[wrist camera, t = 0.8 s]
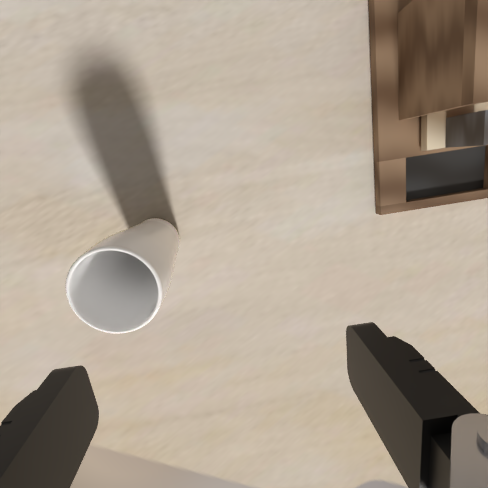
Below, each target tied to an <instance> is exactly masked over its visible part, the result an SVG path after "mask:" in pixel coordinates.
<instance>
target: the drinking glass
mask: <svg viewBox="0 0 488 488" xmlns="http://www.w3.org/2000/svg"><path fill="white" fill-rule="evenodd" d="M179 246H180V238H179V234H178V232H177V230H176V229H175V227H174V226H173V225H172V224H170V223H169V222H167V221H165V220H163V219H159V218H151V219H147V220H145V221H143V222H141V223H140V224H138V225H135V226H133V227H130V228H128V229H125V230H123V231H120V232H118V233H115V234H113V235H111V236H109V237H107V238H105V239H103V240H102V241H100V242H98V243H97V244H95V245H94V246H93V247H91V248H90V249H89V250H87V251H86V252H85V253H84V254H83V255H81V256H80V257H79V258H78V259H77V260H76V261H75V262H74V263H73V265H72V266H71V268H70V270H69V272H68V275H67V278H66V295H67V299H68V302H69V304H70V306H71V308H72V310H73V311H74V313H75V314H76V315H77V316H78V317H79V318H80V319H81V320H82V321H83V322H85V323H86V324H87V325H89V326H91V327H93V328H95V329H97V330H100V331H103V332H108V333H127V332H131V331H134V330H137V329H139V328H141V327H143V326H144V325H146V324H147V323H148V322H150V321H151V320H152V319H153V317H154V316H155V315H156V313H157V312H158V310H159V308H160V306H161V304H162V303H163V301H164V299H165V296H166V294H167V292H168V289H169V286H170V283H171V280H172V275H173V270H174V265H175V260H176V255H177V252H178V249H179Z"/></svg>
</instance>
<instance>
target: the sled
mask: <svg viewBox="0 0 488 488" xmlns="http://www.w3.org/2000/svg"><path fill="white" fill-rule="evenodd" d="M482 145H488V102H484V103H478V104H473V105H468V106H464V107H459V108H455V109H451V110H446V111H442V112H437V113H433V114H428V115H424V116H421V151H427V150H434V149H440V148H448V147H465V146H482Z"/></svg>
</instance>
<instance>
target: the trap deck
mask: <svg viewBox="0 0 488 488" xmlns="http://www.w3.org/2000/svg"><path fill="white" fill-rule="evenodd" d="M369 28H370V56H371V85H372V114H373V142H374V171H375V200H376V213H377V214H380V215H384V214H390V213H396V212H402V211H409V210H415V209H421V208H427V207H433V206H440V205H446V204H452V203H458V202H465V201H471V200H477V199H483V198H488V145H482V146H465V147H448V148H440V149H434V150H427V151H421V116H424V115H428V114H433V113H437V112H442V111H446V110H451V109H455V108H459V107H464V106H468V105H473V104H478V103H484V102H488V0H369Z"/></svg>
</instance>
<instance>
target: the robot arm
mask: <svg viewBox="0 0 488 488" xmlns="http://www.w3.org/2000/svg"><path fill="white" fill-rule="evenodd" d="M346 341H347V368H348V375H349V379H350V382H351V385H352V388H353V390H354V392H355V394H356V395H357V397H358V399H359V401H360V402H361V404H362V406H363V408H364V410H365V411H366V413H367V415H368V417H369V418H370V420H371V422H372V424H373V425H374V427H375V429H376V431H377V433H378V434H379V436H380V438H381V440H382V441H383V443H384V445H385V447H386V448H387V450H388V452H389V454H390V456H391V457H392V459H393V461H394V463H395V464H396V466H397V468H398V470H399V472H400V473H401V475H402V477H403V479H404V480H405V482H406V484H407V486H408V487H409V488H488V415H486V414H480V413H479V412H478V411H477V410H476V409H475V408H474V407H473V406H472V405H471V404H470V403H469V402H468V401H467V400H466V399H465V398H464V397H463V396H462V395H461V394H460V393H459V392H458V391H457V390H456V389H455V388H454V387H453V386H452V385H451V384H450V383H449V382H448V381H447V380H446V379H445V378H444V377H443V376H442V375H441V374H440V373H439V372H438V371H435V368H434V367H433V366H432V365H431V364H430V363H429V362H428V361H427V360H424V357H423V356H422V355H421V354H420V353H419V352H418V351H417V350H416V349H415V348H414V347H413V346H412V345H410V344H408V343H406V342H404V341H402V340H401V339H399V338H397V337H395V336H393V337H387V336H386V335H385V334H384V333H383V332H382V331H381V330H380V329H379V328H378V327H377V325H376V324H374V323H373V322H370V323H364V324H357V325H351V326H348V327H347V329H346ZM98 419H99V410H98V405H97V402H96V399H95V396H94V393H93V390H92V386H91V383H90V380H89V377H88V374H87V371H86V369H85V368H84V367H83V366H74V367H68V368H61V369H55V370H53V371H52V372H51V373H50V374H49V375H48V376H47V378H46V379H45V380H44V382H43V383H42V384H41V385H40V387H39V388H38V389H37V390H35V391H33V392H32V393H30V394H29V395H28V396H27V397H25V398H24V399H23V400H22V401H21V402H19V403H18V404H17V405H16V406H15V407H14V408H13V409H12V410H11V411H10V413H9V414H8V415H7V416H6V418H5V419H4V420H3V421H2V422H1V423H2V424H1V426H0V488H70V486H71V484H72V481H73V480H74V477H75V475H76V473H77V471H78V469H79V466H80V464H81V462H82V460H83V457H84V455H85V453H86V451H87V449H88V447H89V444H90V442H91V440H92V438H93V436H94V433H95V431H96V429H97V425H98Z"/></svg>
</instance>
